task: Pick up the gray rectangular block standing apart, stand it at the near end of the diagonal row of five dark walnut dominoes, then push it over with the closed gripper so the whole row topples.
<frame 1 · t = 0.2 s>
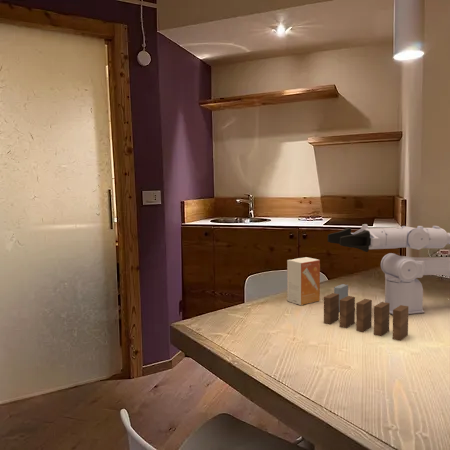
hand: (333, 239, 116), 21 cm above the table, tool horizontal, fingers open, 7 cm apart
small box: (303, 301, 133), on the table
domino 2: (381, 332, 105), on the table
gray rectangular block: (341, 310, 123), on the table
domino 3: (363, 328, 108), on the table
domino 5: (331, 321, 114), on the table
domino 4: (347, 325, 111), on the table
domino 1: (400, 337, 102), on the table
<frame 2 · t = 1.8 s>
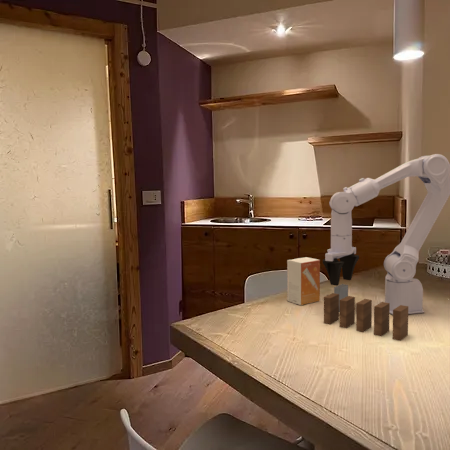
hand: (341, 282, 122), 8 cm above the table, tool pointing down, fingers open, 7 cm apart
nothing on the table moved.
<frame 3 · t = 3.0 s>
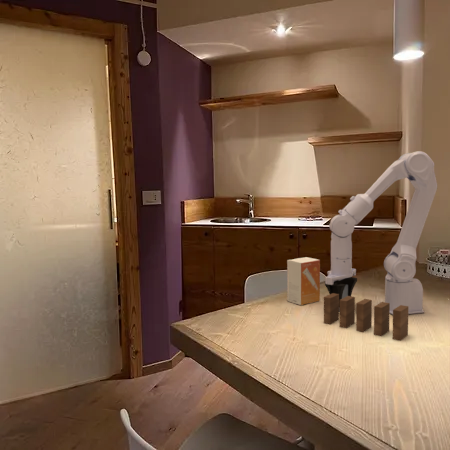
hand: (341, 304, 123), 2 cm above the table, tool pointing down, fingers closed on gray rectangular block, 5 cm apart
gray rectangular block: (341, 309, 123), on the table, touching gripper
everything else where it was.
when the fingers open (3 cm above the table, at t = 6.4 s): gray rectangular block drops 1 cm, on the table.
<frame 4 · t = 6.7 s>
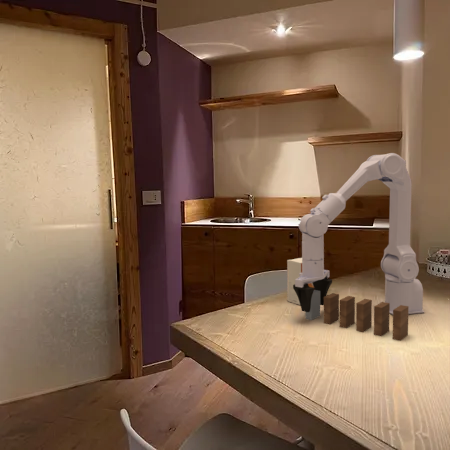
hand: (313, 307, 117), 3 cm above the table, tool pointing down, fingers open, 7 cm apart
gray rectangular block: (312, 317, 118), on the table
everything else where it was.
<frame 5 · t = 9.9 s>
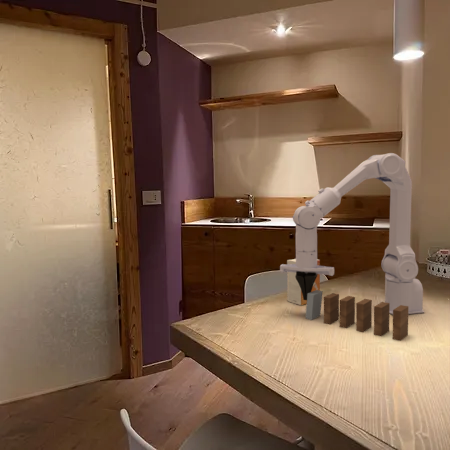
hand: (306, 299, 118), 5 cm above the table, tool pointing down, fingers closed
gray rectangular block: (313, 316, 118), on the table, tilted 6°
everything else where it was.
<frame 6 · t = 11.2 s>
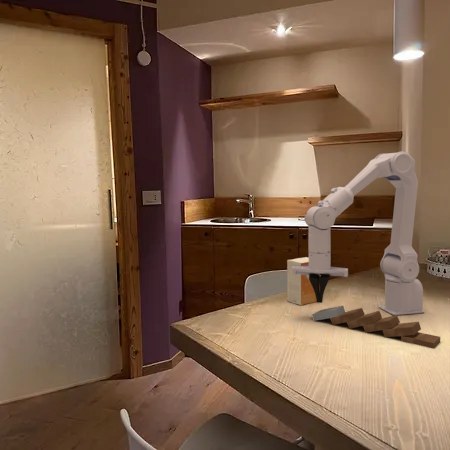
hand: (319, 301, 116), 5 cm above the table, tool pointing down, fingers closed
domino 2: (387, 330, 104), point 1 cm above the table, tilted 73°, touching domino 1
gray rectangular block: (317, 315, 117), point 1 cm above the table, tilted 70°, touching domino 5
domino 3: (368, 326, 107), point 1 cm above the table, tilted 68°, touching domino 4
domino 5: (336, 319, 113), point 1 cm above the table, tilted 66°, touching gray rectangular block, domino 4
domino 4: (352, 322, 110), point 1 cm above the table, tilted 65°, touching domino 3, domino 5
domino 1: (405, 336, 101), on the table, tilted 90°, touching domino 2
everything else where it was.
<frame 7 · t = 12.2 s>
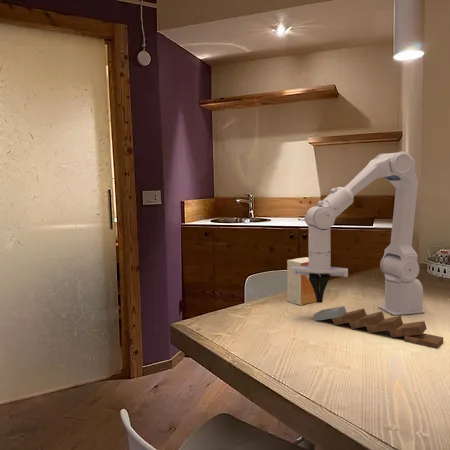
hand: (319, 301, 116), 5 cm above the table, tool pointing down, fingers closed
domino 2: (392, 330, 103), point 1 cm above the table, tilted 73°, touching domino 3
domino 3: (371, 326, 107), point 1 cm above the table, tilted 69°, touching domino 2, domino 4
domino 1: (407, 337, 101), on the table, tilted 90°
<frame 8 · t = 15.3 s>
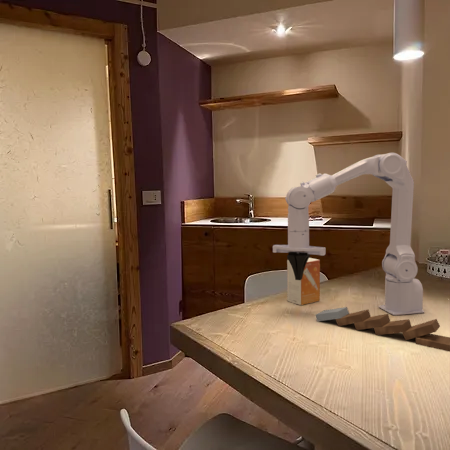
hand: (298, 279, 120), 10 cm above the table, tool pointing down, fingers closed
domino 2: (406, 333, 101), point 1 cm above the table, tilted 63°
domino 3: (378, 328, 105), point 1 cm above the table, tilted 72°, touching domino 4
domino 4: (359, 324, 109), point 1 cm above the table, tilted 70°, touching domino 3, domino 5
domino 1: (419, 338, 99), on the table, tilted 90°
at the end: domino 1 tilted 90°; gray rectangular block tilted 72°; the gripper is holding nothing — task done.
